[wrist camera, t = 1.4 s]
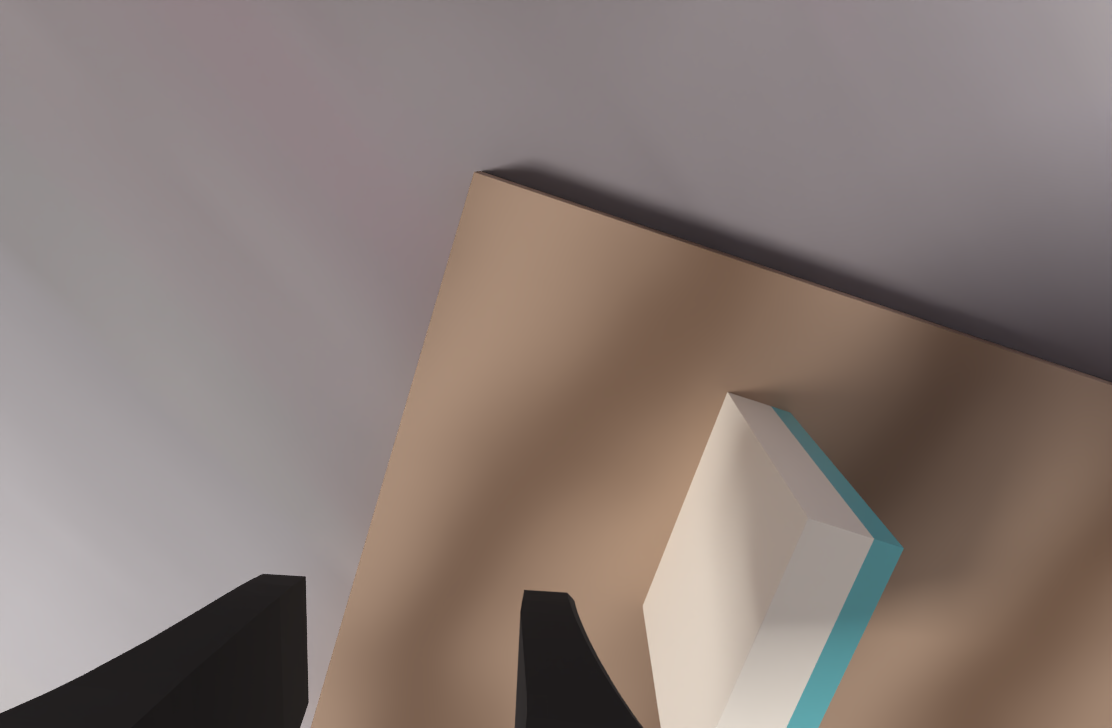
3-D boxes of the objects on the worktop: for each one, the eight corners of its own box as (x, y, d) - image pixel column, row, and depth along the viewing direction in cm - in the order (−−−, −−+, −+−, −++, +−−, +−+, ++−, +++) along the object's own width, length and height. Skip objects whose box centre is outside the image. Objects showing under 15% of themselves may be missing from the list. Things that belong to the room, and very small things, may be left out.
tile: (790, 412, 20) (903, 548, 13) (701, 624, 21) (761, 846, 14) (727, 391, 20) (808, 517, 13) (642, 606, 21) (674, 820, 14)
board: (1310, 448, 21) (1353, 466, 20) (1026, 926, 25) (1048, 964, 24) (479, 171, 20) (474, 172, 18) (318, 719, 23) (304, 748, 22)
